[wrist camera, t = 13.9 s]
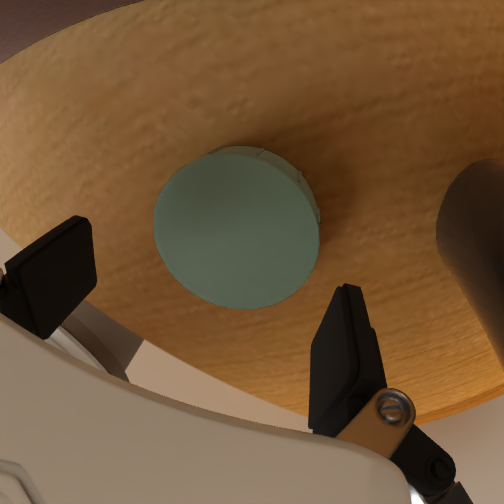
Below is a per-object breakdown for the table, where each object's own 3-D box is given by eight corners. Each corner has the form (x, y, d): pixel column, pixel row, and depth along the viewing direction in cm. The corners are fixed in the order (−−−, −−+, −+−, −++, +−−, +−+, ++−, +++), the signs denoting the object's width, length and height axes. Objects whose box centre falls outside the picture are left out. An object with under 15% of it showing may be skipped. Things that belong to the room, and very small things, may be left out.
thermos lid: (169, 145, 12) (144, 155, 10) (325, 151, 11) (329, 160, 9) (181, 273, 16) (164, 298, 14) (309, 288, 15) (308, 318, 13)
